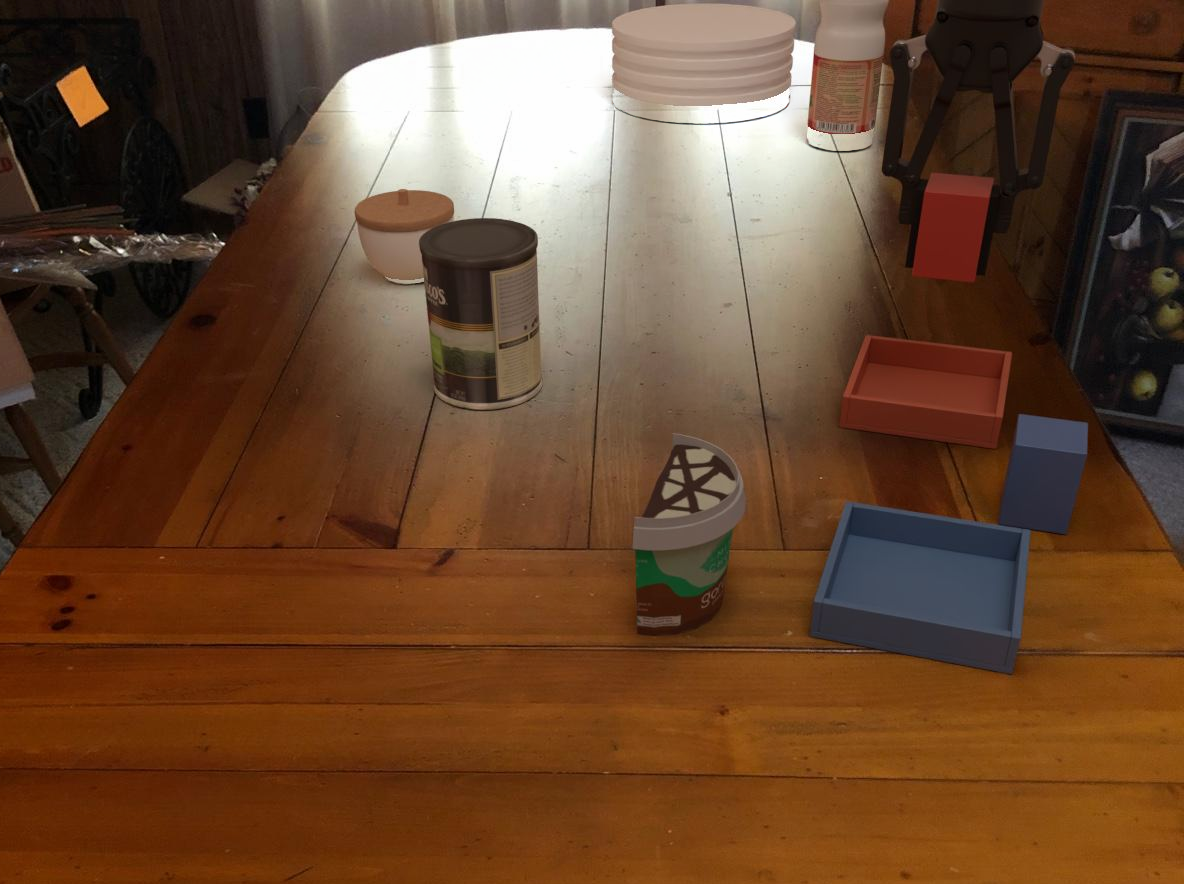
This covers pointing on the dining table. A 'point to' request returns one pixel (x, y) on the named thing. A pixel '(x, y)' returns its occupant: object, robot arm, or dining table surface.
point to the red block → (952, 226)
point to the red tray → (927, 391)
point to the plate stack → (702, 54)
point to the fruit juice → (847, 66)
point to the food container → (686, 538)
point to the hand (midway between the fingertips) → (946, 265)
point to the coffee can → (483, 312)
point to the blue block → (1043, 473)
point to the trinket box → (400, 229)
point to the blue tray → (924, 586)
